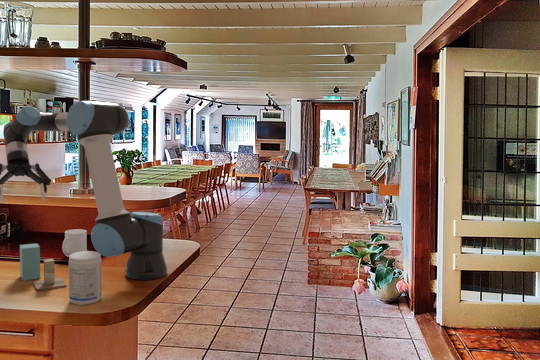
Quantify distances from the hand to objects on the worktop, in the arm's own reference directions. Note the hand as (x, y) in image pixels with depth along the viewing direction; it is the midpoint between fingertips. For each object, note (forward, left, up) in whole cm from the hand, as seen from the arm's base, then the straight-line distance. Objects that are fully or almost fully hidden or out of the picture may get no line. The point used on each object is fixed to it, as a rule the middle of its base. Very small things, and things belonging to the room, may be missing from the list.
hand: (23, 200), depth 172 cm
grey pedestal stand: (-22, +7, -26) cm, 35 cm away
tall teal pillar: (-10, +5, -26) cm, 28 cm away
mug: (-2, -21, -26) cm, 34 cm away
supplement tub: (-43, +11, -26) cm, 51 cm away
